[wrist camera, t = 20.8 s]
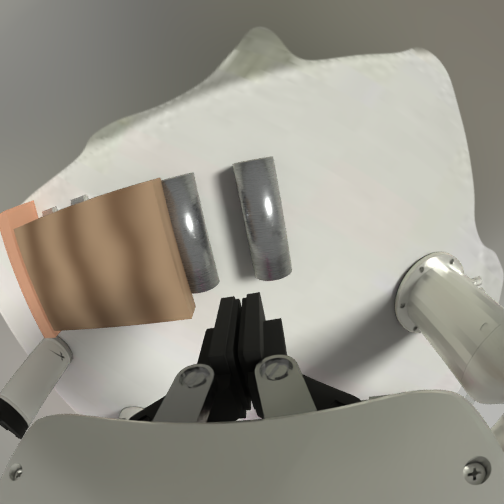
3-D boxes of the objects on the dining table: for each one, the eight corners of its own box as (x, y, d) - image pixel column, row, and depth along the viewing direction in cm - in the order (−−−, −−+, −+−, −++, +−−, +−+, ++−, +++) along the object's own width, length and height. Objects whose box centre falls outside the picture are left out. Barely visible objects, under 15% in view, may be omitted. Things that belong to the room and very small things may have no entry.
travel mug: (70, 340, 37) (9, 426, 18) (75, 367, 39) (25, 449, 20) (42, 327, 36) (-21, 402, 18) (48, 354, 39) (-5, 428, 20)
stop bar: (33, 200, 29) (5, 210, 24) (74, 315, 35) (55, 337, 30) (23, 205, 29) (-4, 215, 24) (63, 316, 35) (44, 338, 30)
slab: (160, 177, 25) (151, 180, 23) (195, 306, 30) (191, 318, 28) (25, 223, 26) (13, 229, 24) (63, 320, 31) (54, 330, 29)
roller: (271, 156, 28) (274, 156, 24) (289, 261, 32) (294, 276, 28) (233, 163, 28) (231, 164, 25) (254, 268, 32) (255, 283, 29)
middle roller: (200, 170, 28) (181, 176, 25) (224, 275, 32) (210, 293, 29) (168, 178, 29) (147, 184, 26) (194, 277, 33) (178, 293, 30)
